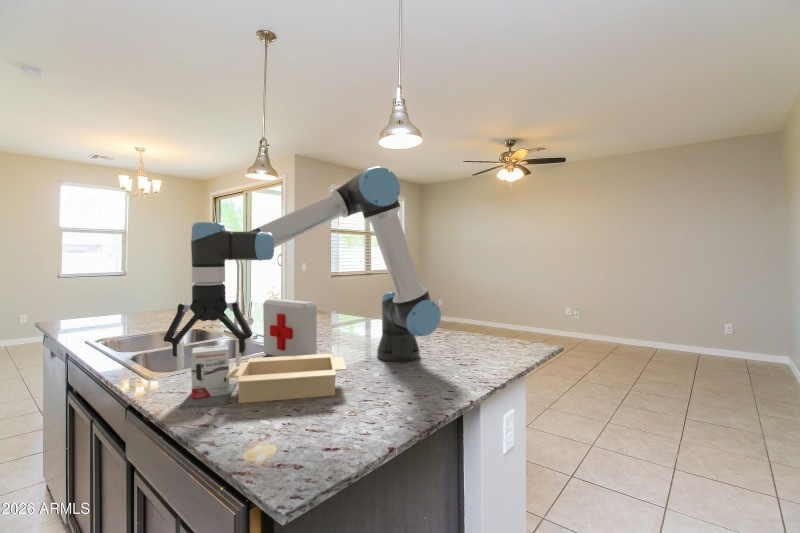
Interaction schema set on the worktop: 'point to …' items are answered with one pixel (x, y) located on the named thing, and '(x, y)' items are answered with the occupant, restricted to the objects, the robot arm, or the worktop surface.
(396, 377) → the worktop surface
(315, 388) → the carton
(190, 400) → the mat
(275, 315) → the bevelled white case
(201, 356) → the ink box
